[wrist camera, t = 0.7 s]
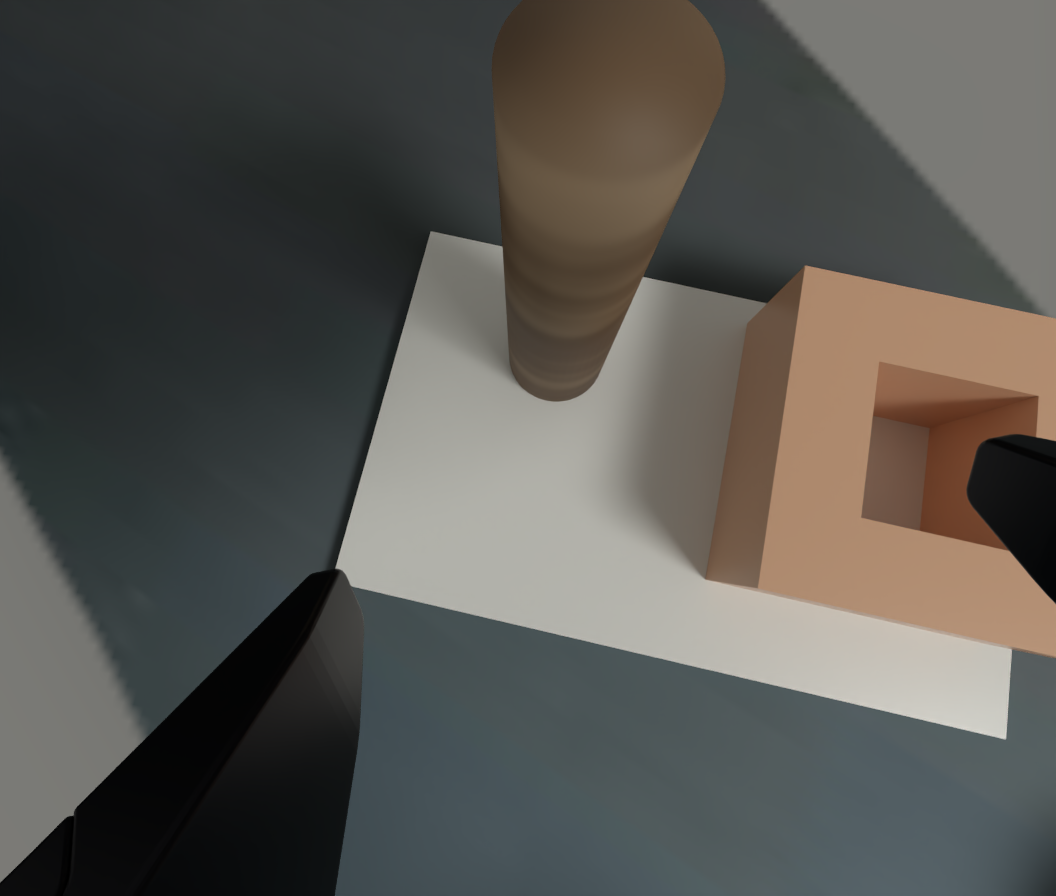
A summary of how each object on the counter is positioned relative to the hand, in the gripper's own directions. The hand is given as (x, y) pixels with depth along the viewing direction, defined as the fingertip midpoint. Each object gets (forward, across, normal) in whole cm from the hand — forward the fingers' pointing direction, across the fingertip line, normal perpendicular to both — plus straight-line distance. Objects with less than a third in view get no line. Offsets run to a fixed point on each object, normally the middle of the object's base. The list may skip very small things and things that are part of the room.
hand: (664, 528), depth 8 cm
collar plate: (+11, -5, +7) cm, 14 cm away
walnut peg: (+14, 0, +2) cm, 14 cm away
